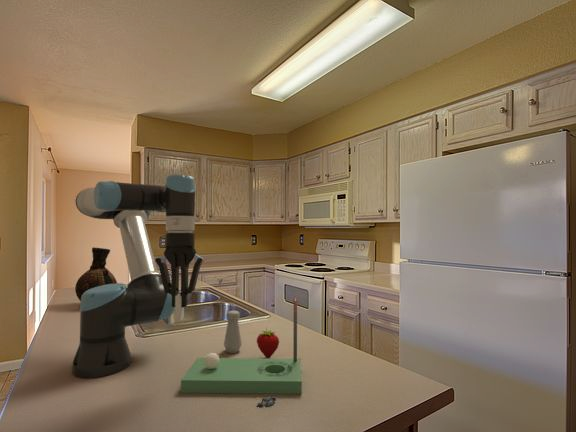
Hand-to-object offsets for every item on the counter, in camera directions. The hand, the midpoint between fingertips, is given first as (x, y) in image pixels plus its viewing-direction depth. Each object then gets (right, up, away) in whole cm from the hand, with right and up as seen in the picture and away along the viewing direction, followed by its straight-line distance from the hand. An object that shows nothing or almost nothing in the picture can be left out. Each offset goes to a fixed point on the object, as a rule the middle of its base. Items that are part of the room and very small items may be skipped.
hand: (179, 319), depth 90 cm
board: (+18, -16, -1) cm, 24 cm away
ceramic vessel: (-68, -18, +79) cm, 106 cm away
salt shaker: (+11, -17, +20) cm, 29 cm away
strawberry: (+23, -17, +14) cm, 32 cm away
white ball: (+9, -11, 0) cm, 14 cm away
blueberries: (+24, -17, -12) cm, 32 cm away
